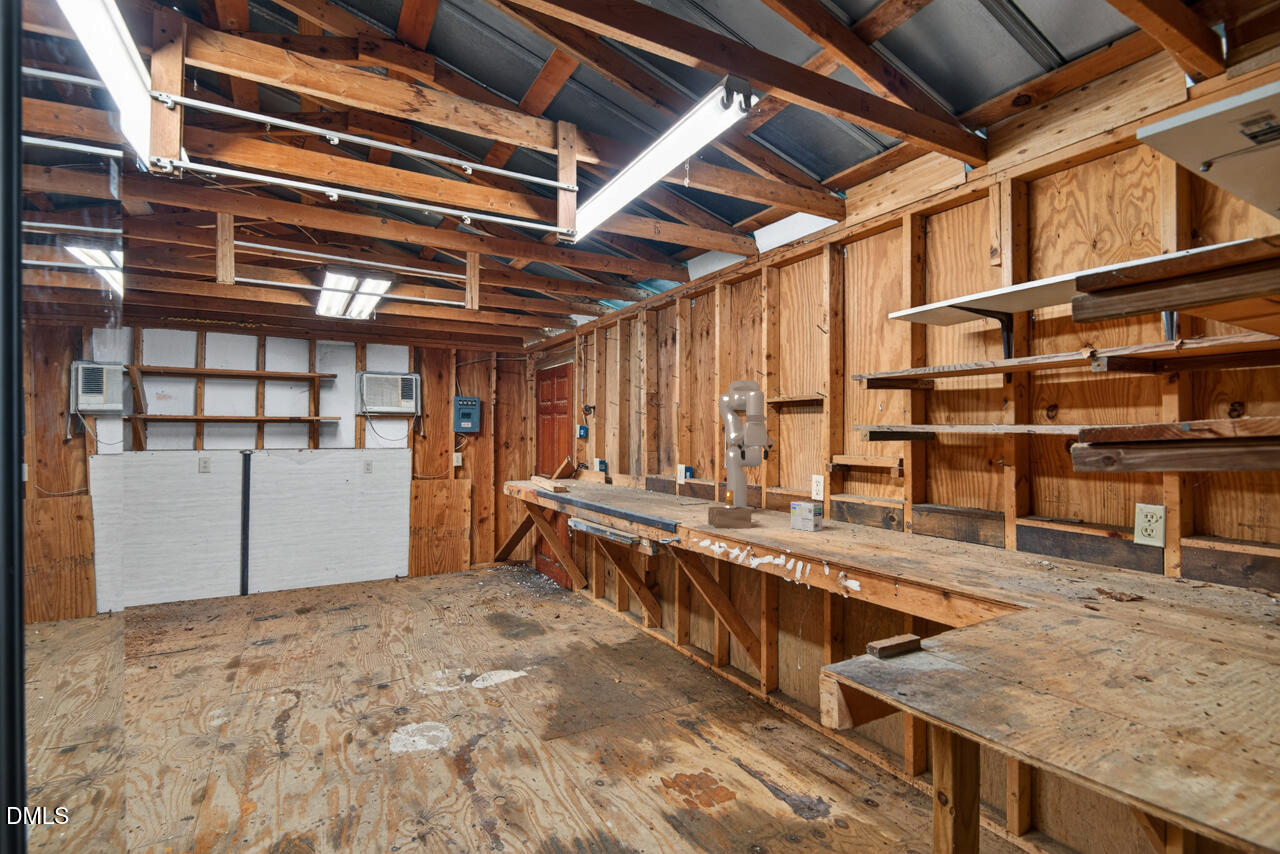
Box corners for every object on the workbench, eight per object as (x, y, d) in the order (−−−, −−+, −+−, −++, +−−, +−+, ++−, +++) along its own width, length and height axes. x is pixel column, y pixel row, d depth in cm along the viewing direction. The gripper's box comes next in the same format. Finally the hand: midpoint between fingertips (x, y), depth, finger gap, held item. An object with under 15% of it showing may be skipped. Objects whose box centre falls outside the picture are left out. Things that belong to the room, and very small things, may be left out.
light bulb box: (822, 530, 235) (823, 503, 235) (813, 532, 230) (813, 504, 230) (799, 527, 242) (799, 500, 243) (789, 528, 238) (790, 501, 238)
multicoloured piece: (720, 522, 246) (720, 489, 246) (733, 522, 247) (734, 489, 247) (724, 524, 241) (724, 491, 241) (738, 524, 241) (738, 491, 242)
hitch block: (708, 523, 250) (708, 506, 250) (740, 523, 252) (740, 506, 252) (717, 528, 236) (717, 511, 236) (751, 528, 238) (751, 510, 238)
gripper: (771, 420, 258) (771, 459, 258) (732, 419, 256) (732, 459, 257) (777, 420, 251) (777, 460, 251) (737, 419, 249) (737, 460, 249)
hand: (754, 459), depth 254 cm, fingers open, 9 cm apart
